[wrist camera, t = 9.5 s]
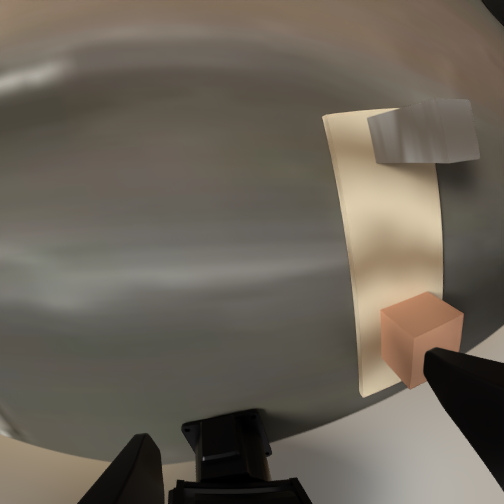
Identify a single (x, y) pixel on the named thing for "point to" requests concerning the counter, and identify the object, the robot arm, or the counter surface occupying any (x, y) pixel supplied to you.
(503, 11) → the high-heeled shoe
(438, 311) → the block
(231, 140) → the counter surface
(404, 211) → the strip
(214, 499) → the robot arm
